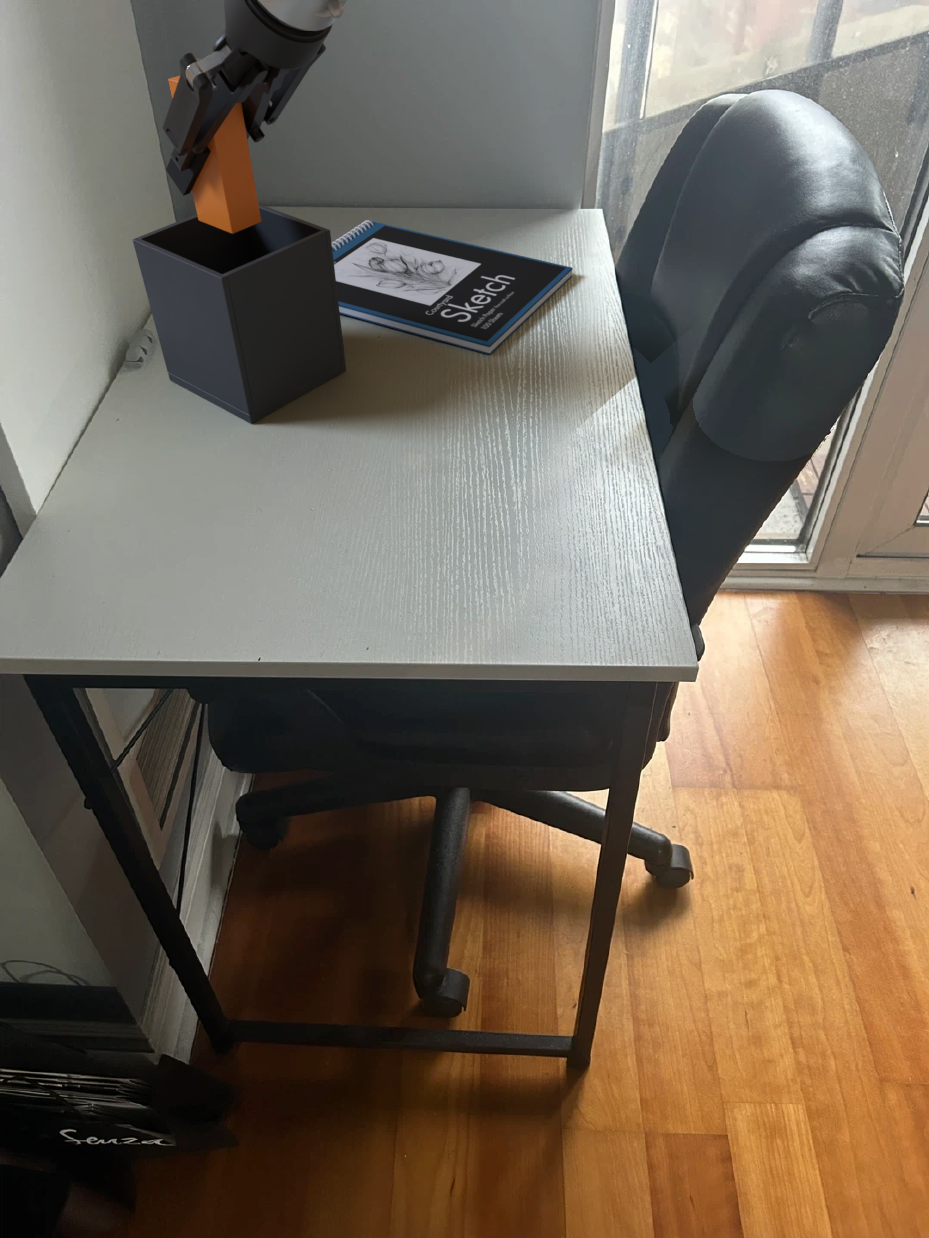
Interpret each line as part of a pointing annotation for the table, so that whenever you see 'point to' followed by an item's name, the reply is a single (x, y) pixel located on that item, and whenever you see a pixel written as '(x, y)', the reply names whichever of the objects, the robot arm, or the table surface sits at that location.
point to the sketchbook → (439, 285)
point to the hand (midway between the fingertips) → (196, 174)
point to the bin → (245, 309)
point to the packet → (226, 177)
